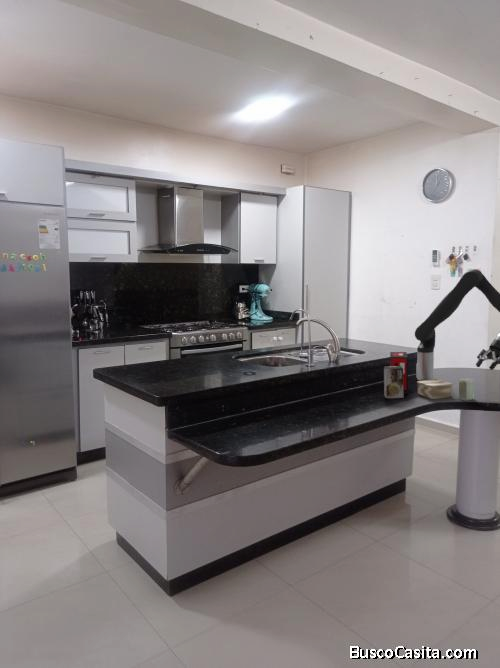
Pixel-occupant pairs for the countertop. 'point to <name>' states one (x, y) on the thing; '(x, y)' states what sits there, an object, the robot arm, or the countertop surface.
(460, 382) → the tea tin
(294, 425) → the countertop surface
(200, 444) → the countertop surface
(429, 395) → the birch block
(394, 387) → the coffee box
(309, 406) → the countertop surface
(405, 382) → the cleaning product box
